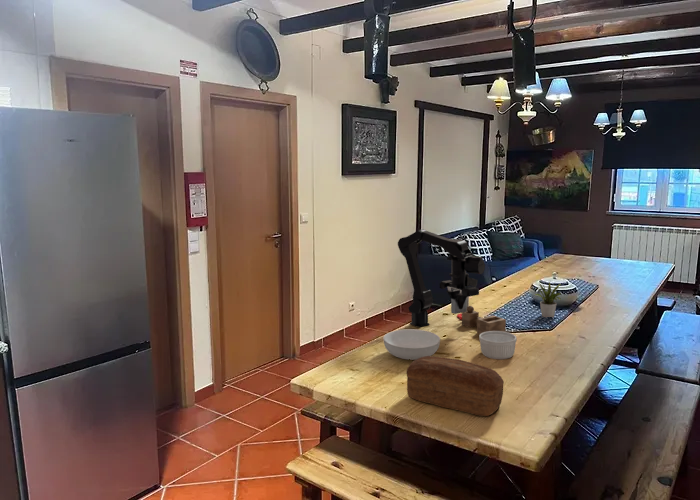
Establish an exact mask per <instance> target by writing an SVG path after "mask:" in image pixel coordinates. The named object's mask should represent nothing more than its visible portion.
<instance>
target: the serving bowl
mask: <svg viewBox="0 0 700 500" xmlns="http://www.w3.org/2000/svg"><path fill="white" fill-rule="evenodd" d="M382 340H383V344H384V347H385V349H386V350H387V352H388V353H389V354H390V355H392V356H394V357H396V358H398V359H403V360H409V359H410V360H413V361H415V360H416V359H418V358H421V357H424V356H433V355H434V354H435V353H436V352H437V351H438V350H439V347H440V343H441V337H440V336H439V335H438V334H436V333H434V332H432V331H428V330H425V329H416V328H415V329H413V328H407V329H406V328H405V329H397V330H393V331H390V332H388V333H385V334H384V335H383V337H382ZM410 360H409V361H410Z"/></svg>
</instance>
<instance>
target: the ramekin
mask: <svg viewBox="0 0 700 500" xmlns="http://www.w3.org/2000/svg"><path fill="white" fill-rule="evenodd" d="M478 336H479V337H478V339H479V344H480V345H479V346H480V350H481V354H483V356H485V358H489V359H494V360H506V359H510V358H512V357H513V356H514V355H515V350H516V343H517V341H518V340H517V336H516V335H515V334H514V333H511V332H509V331H508V332H507V331H506V332H503V331H488V332H483V333H481V334H479V335H478Z"/></svg>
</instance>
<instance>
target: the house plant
mask: <svg viewBox="0 0 700 500" xmlns="http://www.w3.org/2000/svg"><path fill="white" fill-rule="evenodd" d="M531 284H532V285H535V286H537V284H535V283H531ZM547 285H548V287H547V291H546V288H545V285H544V284H542V282H540V281H539V288H538V290H539V292H540V293H541V294H540V293H535V294H534V296H538V297H540V298H541V299H542V301H540V302H539V304H540V305H539V306H540V312H541V316H542V317H543V318H547V317H552V318H554V317H555V313H556V308H557V302H556V301H557V300H560V301H561V297H558V296H561V295H562V293H558V292H557V291H558V289H559V288H560V289H561V288H563V287H559V286H561V285H562V283H561V284H558V285H556V286H555V288H553V289H552V285H551V281H549V282H548V284H547ZM556 292H557V293H556Z"/></svg>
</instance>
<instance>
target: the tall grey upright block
mask: <svg viewBox="0 0 700 500" xmlns="http://www.w3.org/2000/svg"><path fill="white" fill-rule="evenodd" d="M450 309H451V310H450V311H451V312H450V313H451V314H454V315H458V314H461V313H462V312H466V300H465V303H464V306H463V308H462V309H459V305H458V301H457V298H450Z"/></svg>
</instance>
